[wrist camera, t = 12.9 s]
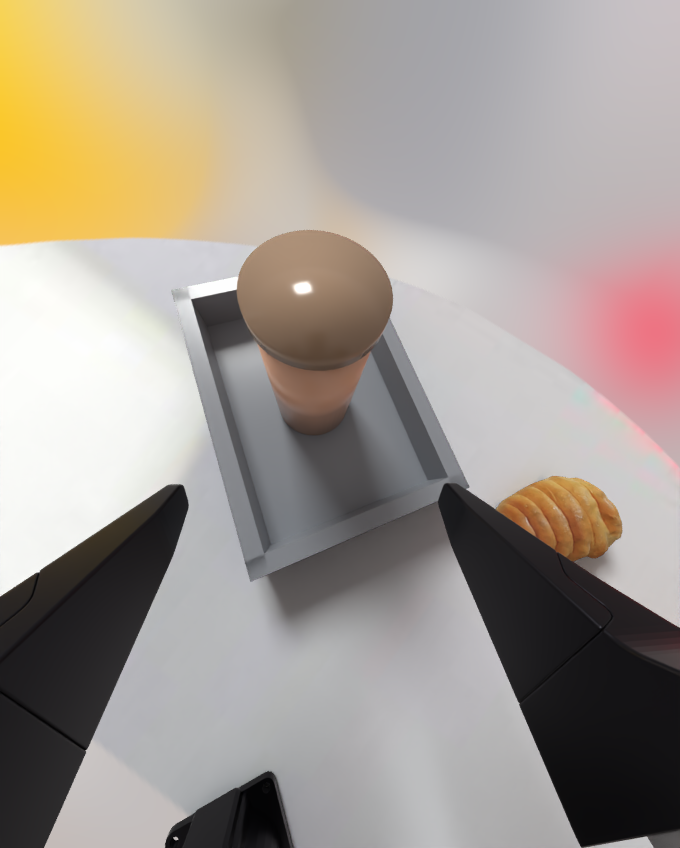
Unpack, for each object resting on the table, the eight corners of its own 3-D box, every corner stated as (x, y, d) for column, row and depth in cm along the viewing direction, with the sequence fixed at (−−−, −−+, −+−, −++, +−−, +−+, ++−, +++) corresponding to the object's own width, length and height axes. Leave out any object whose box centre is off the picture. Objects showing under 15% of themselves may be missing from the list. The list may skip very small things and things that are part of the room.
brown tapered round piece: (344, 443, 23) (386, 371, 10) (269, 431, 22) (217, 341, 10) (353, 375, 25) (398, 246, 12) (284, 363, 24) (257, 217, 12)
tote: (440, 489, 24) (469, 487, 19) (262, 564, 21) (250, 581, 16) (350, 289, 28) (358, 252, 24) (194, 325, 25) (171, 290, 21)
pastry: (503, 571, 23) (540, 585, 19) (477, 491, 24) (507, 489, 21) (594, 546, 24) (644, 554, 21) (564, 472, 26) (606, 468, 22)
